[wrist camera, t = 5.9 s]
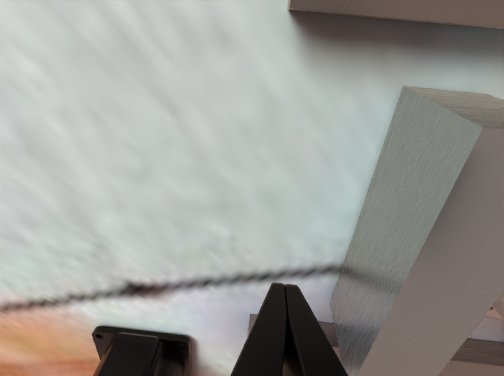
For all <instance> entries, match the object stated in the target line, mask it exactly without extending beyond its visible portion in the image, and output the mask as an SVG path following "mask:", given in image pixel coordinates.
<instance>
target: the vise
mask: <svg viewBox="0 0 504 376" xmlns="http://www.w3.org/2000/svg"><path fill="white" fill-rule="evenodd" d="M287 10H298V11H308V12H319V13H330V14H340V15H351V16H362V17H373V18H383V19H394V20H405V21H415V22H426V23H437V24H448V25H458V26H469V27H480V28H490V29H501V30H504V0H289V1H288V9H287ZM256 317H257V315H255V314H250V320H249V328H248V335H249V333H250V331H251V329H252V326H253V324H254V322H255V320H256ZM319 324H320V326H321V328H322V330H323V331H324V333H325V335H326V337H327V338H328V340H329V342H330V344H331V346H332V347H333V349H334V351H335V353H336V354H337V356H338V358H339V360H340V362H341V357H340V352H339V347H338V342H337V337H336V331H335V326H334V323H325V322H319ZM247 338H248V337H247ZM341 363H342V362H341ZM438 376H504V343H501V342H492V341H484V340H475V339H466V340H465V341H464V343H463V344H462V345H461V347H460V348H459V349H458V350H457V352H456V353H455V354H454V356H453V357H452V358H451V359H450V361H449V362H448V363H447V364H446V366H445V367H444V368H443V370H442V371H441V372H440V373H439V375H438Z"/></svg>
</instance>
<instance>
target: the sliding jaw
mask: <svg viewBox="0 0 504 376" xmlns="http://www.w3.org/2000/svg"><path fill="white" fill-rule="evenodd" d="M503 292H504V100H502V99H499V98H496V97H493V96H491V95H488V94H478V93H468V92H457V91H447V90H437V89H427V88H417V87H406V86H403V89H402V92H401V95H400V98H399V101H398V104H397V107H396V110H395V112H394V115H393V118H392V121H391V124H390V127H389V130H388V133H387V136H386V139H385V142H384V145H383V148H382V151H381V154H380V157H379V160H378V163H377V166H376V169H375V172H374V175H373V178H372V181H371V184H370V187H369V190H368V193H367V196H366V199H365V202H364V205H363V208H362V211H361V214H360V217H359V219H358V222H357V225H356V228H355V231H354V234H353V237H352V240H351V243H350V246H349V249H348V252H347V255H346V258H345V261H344V264H343V267H342V270H341V273H340V276H339V279H338V282H337V285H336V288H335V291H334V294H333V297H332V300H331V303H330V306H331V311H332V316H333V321H334V326H335V331H336V337H337V342H338V347H339V352H340V357H341V362H342V365H343V367H344V369H345V370H346V372H347V374H348V376H438V375H439V373H440V372H441V371H442V370H443V368H444V367H445V366H446V364H447V363H448V362H449V361H450V359H451V358H452V357H453V356H454V354H455V353H456V352H457V350H458V349H459V348H460V347H461V345H462V344H463V343H464V341H465V340H466V339H467V338H468V336H469V335H470V334H471V333H472V331H473V330H474V329H475V327H476V326H477V325H478V324H479V322H480V321H481V320H482V318H483V317H484V316H485V315H486V313H487V312H488V311H489V310H490V308H491V307H492V306H493V304H494V303H495V302H496V301H497V299H498V298H499V297H500V295H501V294H502V293H503Z"/></svg>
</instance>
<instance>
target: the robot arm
mask: <svg viewBox="0 0 504 376" xmlns="http://www.w3.org/2000/svg"><path fill="white" fill-rule="evenodd" d="M92 337H93V340H94V343H95V346H96V349H97V352H98V354H99V357H100V360H101V361H100V363H99V365H98V367H97V369H96V371H95V373H94V375H93V376H192V359H191V341H190V339H189V338H188V337H186V336H181V335H173V334H164V333H155V332H147V331H138V330H129V329H121V328H112V327H103V326H98V327H96V328H95V330H94V331H93V333H92ZM231 376H348V374H347V372H346V370H345V369H344V367H343V365H342V363H341V362H340V360H339V358H338V356H337V354H336V353H335V351H334V349H333V347H332V346H331V344H330V342H329V340H328V338H327V337H326V335H325V333H324V331H323V330H322V328H321V326H320V324H319V322H318V321H317V319H316V317H315V315H314V314H313V312H312V310H311V308H310V306H309V305H308V303H307V301H306V299H305V298H304V296H303V294H302V292H301V290H300V289H299V287H298V286H297V285H292V284H285V285H284V284H283V283H275V282H273V283H272V284H271V286H270V288H269V291H268V293H267V295H266V297H265V300H264V302H263V304H262V306H261V309H260V311H259V313H258V315H257V317H256V320H255V322H254V324H253V326H252V329H251V331H250V333H249V335H248V338H247V340H246V342H245V344H244V347H243V349H242V351H241V353H240V356H239V358H238V360H237V362H236V364H235V367H234V369H233V371H232V373H231Z"/></svg>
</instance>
